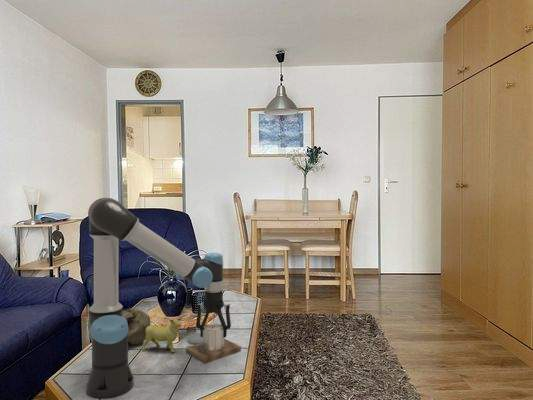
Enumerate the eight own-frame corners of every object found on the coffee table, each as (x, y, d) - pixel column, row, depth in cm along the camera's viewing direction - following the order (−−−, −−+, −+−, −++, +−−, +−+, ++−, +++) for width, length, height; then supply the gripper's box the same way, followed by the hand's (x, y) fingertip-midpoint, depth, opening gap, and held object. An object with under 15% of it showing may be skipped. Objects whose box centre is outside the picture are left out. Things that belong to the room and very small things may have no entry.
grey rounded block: (206, 343, 177) (206, 322, 176) (223, 344, 176) (223, 322, 176) (202, 351, 168) (202, 329, 168) (219, 352, 168) (219, 329, 168)
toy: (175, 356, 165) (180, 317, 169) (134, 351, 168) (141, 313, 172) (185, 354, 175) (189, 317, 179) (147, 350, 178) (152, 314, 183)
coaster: (195, 346, 178) (195, 344, 178) (182, 339, 186) (182, 337, 186) (216, 340, 186) (216, 338, 186) (202, 333, 194) (202, 331, 194)
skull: (100, 317, 171) (133, 324, 168) (128, 298, 192) (158, 304, 190) (98, 352, 173) (131, 359, 170) (126, 329, 195) (156, 335, 192)
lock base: (205, 363, 162) (205, 343, 162) (186, 352, 172) (185, 333, 172) (240, 351, 174) (240, 332, 174) (220, 341, 184) (221, 323, 184)
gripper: (238, 288, 175) (238, 341, 176) (191, 287, 176) (191, 340, 177) (236, 293, 168) (236, 348, 169) (187, 292, 169) (187, 347, 170)
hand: (213, 344), depth 173 cm, fingers closed on grey rounded block, 7 cm apart
